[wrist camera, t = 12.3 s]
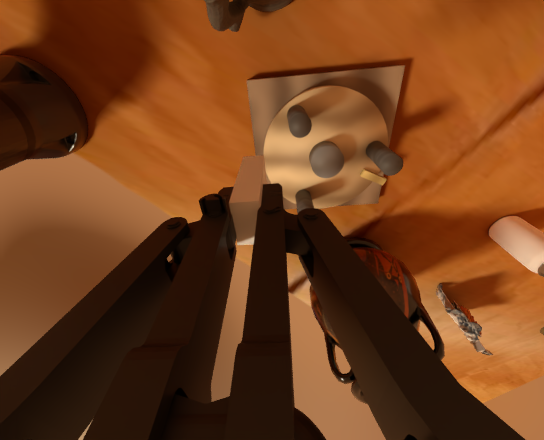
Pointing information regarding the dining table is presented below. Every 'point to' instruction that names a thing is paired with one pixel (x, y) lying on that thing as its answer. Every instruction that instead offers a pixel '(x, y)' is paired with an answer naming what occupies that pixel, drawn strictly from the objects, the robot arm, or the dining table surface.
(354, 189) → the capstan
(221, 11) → the beer stein
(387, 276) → the amphora vase
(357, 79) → the stand
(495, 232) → the can
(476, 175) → the dining table surface
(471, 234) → the dining table surface
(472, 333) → the meal
